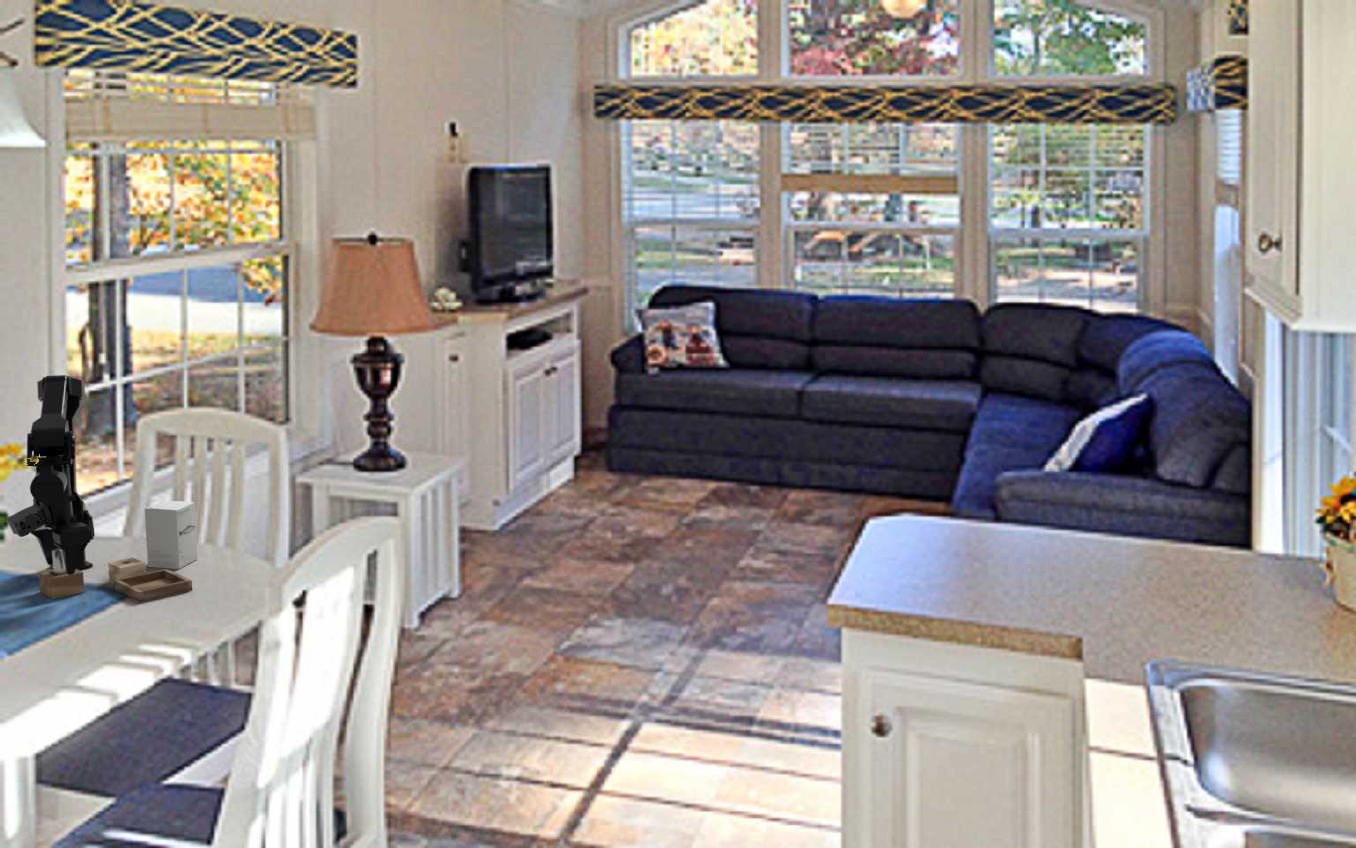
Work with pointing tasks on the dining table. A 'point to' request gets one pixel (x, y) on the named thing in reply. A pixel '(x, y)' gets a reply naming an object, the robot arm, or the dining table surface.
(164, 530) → the supplement box
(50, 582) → the brown square socket
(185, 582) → the tray
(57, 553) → the cylinder
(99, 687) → the dining table surface
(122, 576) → the maple block
